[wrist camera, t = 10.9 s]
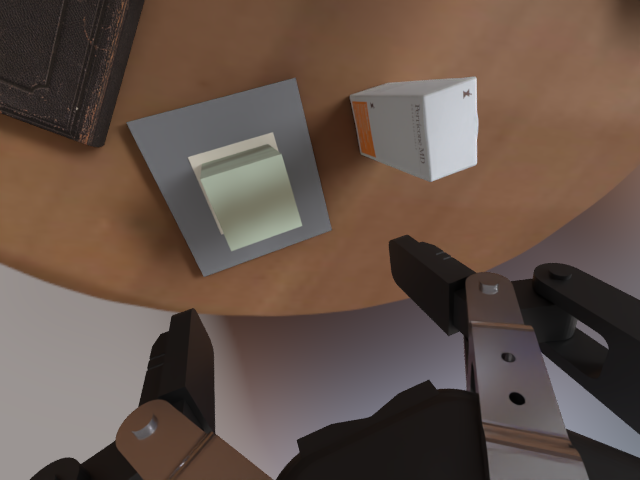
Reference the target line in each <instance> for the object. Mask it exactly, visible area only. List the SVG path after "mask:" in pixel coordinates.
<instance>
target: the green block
mask: <svg viewBox="0 0 640 480" xmlns="http://www.w3.org/2000/svg"><path fill="white" fill-rule="evenodd" d="M200 180H201V182H202V185H203V187H204V189H205V192H206V194H207V196H208V198H209V201H210V203H211V205H212V208H213V210H214V212H215V215H216V217H217V219H218V222H219V224H220V226H221V228H222V231H223V233H224V235H225V238H226V240H227V242H228V245H229V247H230V249H231V251H234V250H236V249H239V248H242V247H245V246H247V245H250V244H253V243H256V242H259V241H261V240H264V239H267V238H270V237H273V236H275V235H278V234H281V233H284V232H286V231H289V230H292V229H295V228H298V227H300V226H302V223H301V219H300V216H299V212H298V209H297V205H296V202H295V199H294V195H293V192H292V188H291V185H290V181H289V178H288V174H287V171H286V168H285V164H284V161H283V157H282V154H281V153H280V152H278V151H277V150H276V149H274V148H273V147H272V146H270V145H269V144H266V145H263V146H259V147H256V148H253V149H249V150H246V151H243V152H239V153H236V154H233V155H229V156H226V157H223V158H220V159H216V160H213V161H210V162H206V163H203V164H202V167H201V176H200Z"/></svg>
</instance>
